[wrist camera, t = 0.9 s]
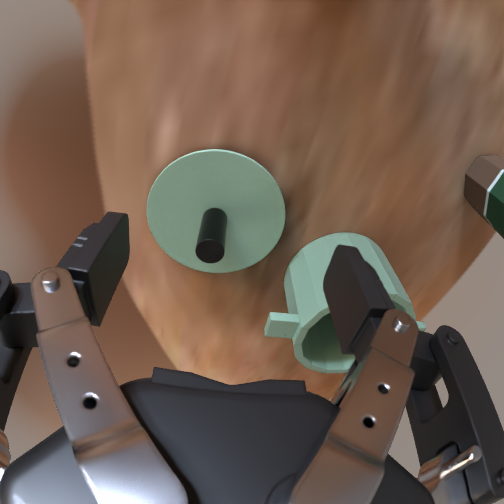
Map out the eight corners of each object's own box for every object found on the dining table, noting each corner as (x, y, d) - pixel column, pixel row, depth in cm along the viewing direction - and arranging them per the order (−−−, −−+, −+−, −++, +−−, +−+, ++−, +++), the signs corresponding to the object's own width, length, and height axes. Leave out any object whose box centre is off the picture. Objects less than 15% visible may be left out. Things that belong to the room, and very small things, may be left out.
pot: (275, 219, 30) (286, 282, 23) (417, 245, 33) (453, 298, 25) (252, 306, 38) (254, 370, 30) (376, 316, 40) (396, 371, 32)
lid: (152, 139, 25) (128, 163, 20) (299, 160, 27) (314, 190, 22) (149, 258, 33) (134, 299, 28) (268, 274, 35) (272, 317, 29)
